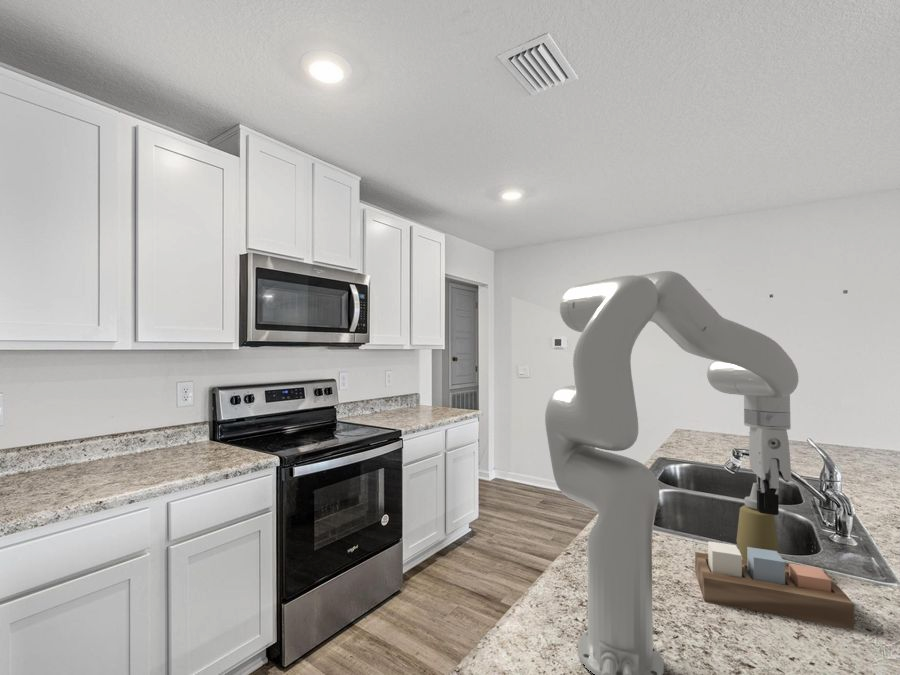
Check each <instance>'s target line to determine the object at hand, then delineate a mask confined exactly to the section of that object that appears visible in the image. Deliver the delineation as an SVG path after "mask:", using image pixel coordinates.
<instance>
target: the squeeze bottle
mask: <svg viewBox="0 0 900 675" xmlns="http://www.w3.org/2000/svg"><path fill="white" fill-rule="evenodd" d="M757 490H758V489H757V482H753V483H752V487H751V491H750V494H749V496H745V497H744V505H742V506H740V507H739V513H738V514H739V516H738V522H737V523H738V524H737V532H736V533H737V534H736V540H735V541H736V544H737V545H736V546H737V548H738V550H739V552H740V554H741V555H742V559H745V560H747V547H751V548H758V549H765V550H772V551H777V552H778V554H780V553H779V552H780V550H779V542H778V541H779V540H778V536H777V535H778V534H777V526H776V520H775V519H776V518H775V515H771V514H764V513H760V512H759V511H758V510H757Z"/></svg>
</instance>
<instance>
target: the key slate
mask: <svg viewBox="0 0 900 675" xmlns="http://www.w3.org/2000/svg"><path fill="white" fill-rule="evenodd" d="M785 566H786V562H785V560H784V559H783V558H782V556H781V555H780V553H778V552H777V551H772V550H765V549H758V548H751V547H747V568H748V573H749V575H750V577H751V579H755V580H761V581H767V582H772V583H778V584H784V585H785Z"/></svg>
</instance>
